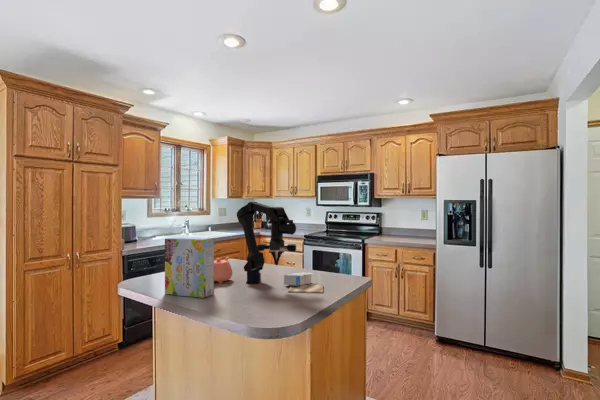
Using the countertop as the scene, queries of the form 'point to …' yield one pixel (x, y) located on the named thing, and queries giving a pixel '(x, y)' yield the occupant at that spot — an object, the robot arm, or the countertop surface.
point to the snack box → (189, 266)
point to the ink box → (297, 279)
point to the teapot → (222, 270)
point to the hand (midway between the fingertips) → (276, 265)
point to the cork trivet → (306, 288)
